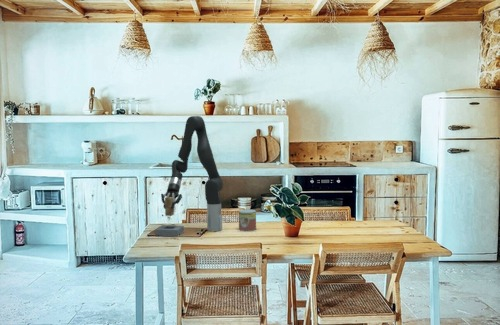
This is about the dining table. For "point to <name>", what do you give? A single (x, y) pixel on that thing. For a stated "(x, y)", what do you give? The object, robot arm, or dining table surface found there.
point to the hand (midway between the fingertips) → (168, 208)
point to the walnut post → (169, 206)
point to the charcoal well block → (169, 230)
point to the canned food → (247, 220)
